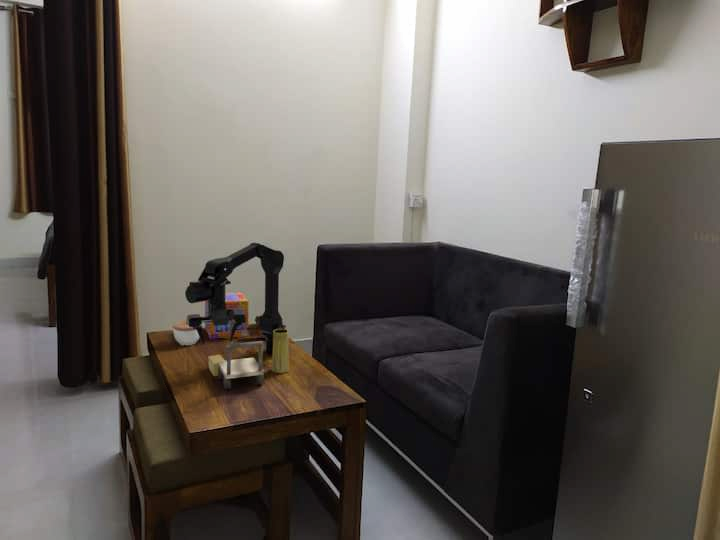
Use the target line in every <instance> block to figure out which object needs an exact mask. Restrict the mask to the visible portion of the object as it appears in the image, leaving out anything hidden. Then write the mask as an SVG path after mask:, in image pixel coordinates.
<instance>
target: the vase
mask: <svg viewBox="0 0 720 540" xmlns="http://www.w3.org/2000/svg"><path fill="white" fill-rule="evenodd" d="M289 334H290V333H289V329H286V328H285V329H276V330H274V331H273V354H272V355H271V357H272V359H271V370H270V371H271V372H273V373H276V374H285V372H286V373H288V372H289V371H290V366H289V364H290V362H289V361H290V360H289V359H290V358H289Z"/></svg>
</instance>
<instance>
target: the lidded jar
mask: <svg viewBox="0 0 720 540" xmlns="http://www.w3.org/2000/svg"><path fill="white" fill-rule="evenodd" d="M202 324H203V323H202ZM202 324H201V326H202V327H203V325H202ZM172 330H173V336H174V338H175V339H174V340H175V341H176V342H177V343H179V345H181V346H184V345H186V346H188V345H189V346H194V345H196V343H197V342H198V341H199V339H200V337H199V335H198V332H197V330H196V329H193V328H192V327H189V326H188V324H187V319H186V320H181V321H177V322H174V323H173V324H172ZM193 344H194V345H193ZM186 346H185V347H186Z"/></svg>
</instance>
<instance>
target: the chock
mask: <svg viewBox="0 0 720 540" xmlns="http://www.w3.org/2000/svg"><path fill="white" fill-rule="evenodd" d="M218 361H226V360H225V359H224V357H223V356H222V355H221V354H216V355H209V356H208V370H209V371H210V372H211V375H213V377H218V367H219V366H218Z"/></svg>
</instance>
